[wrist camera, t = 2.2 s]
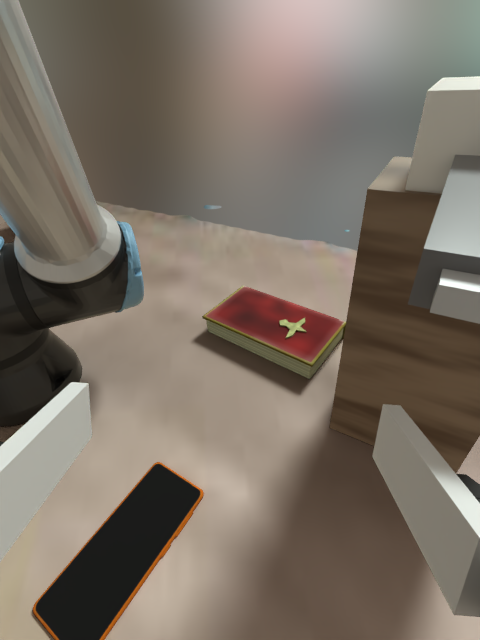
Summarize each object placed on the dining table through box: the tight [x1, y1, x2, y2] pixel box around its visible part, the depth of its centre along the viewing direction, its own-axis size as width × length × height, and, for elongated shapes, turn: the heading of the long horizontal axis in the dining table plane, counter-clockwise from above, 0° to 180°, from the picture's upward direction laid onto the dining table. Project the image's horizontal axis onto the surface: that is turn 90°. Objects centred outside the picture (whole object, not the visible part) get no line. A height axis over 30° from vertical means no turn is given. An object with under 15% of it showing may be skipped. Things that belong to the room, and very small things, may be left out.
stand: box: [330, 157, 480, 473], centre depth 35 cm, size 10×14×30 cm
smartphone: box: [33, 462, 204, 640], centre depth 35 cm, size 8×17×1 cm, turn 147°
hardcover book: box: [202, 286, 346, 379], centre depth 58 cm, size 12×21×4 cm, turn 52°
